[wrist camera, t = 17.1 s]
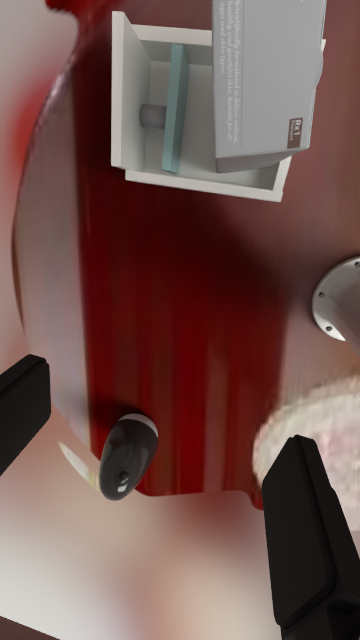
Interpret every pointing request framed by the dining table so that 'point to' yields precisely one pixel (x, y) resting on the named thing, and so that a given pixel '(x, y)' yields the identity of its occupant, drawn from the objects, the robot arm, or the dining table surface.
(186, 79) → the pusher
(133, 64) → the open box with divider
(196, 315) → the dining table surface
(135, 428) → the dark grey egg shape
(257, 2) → the skincare box
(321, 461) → the robot arm
